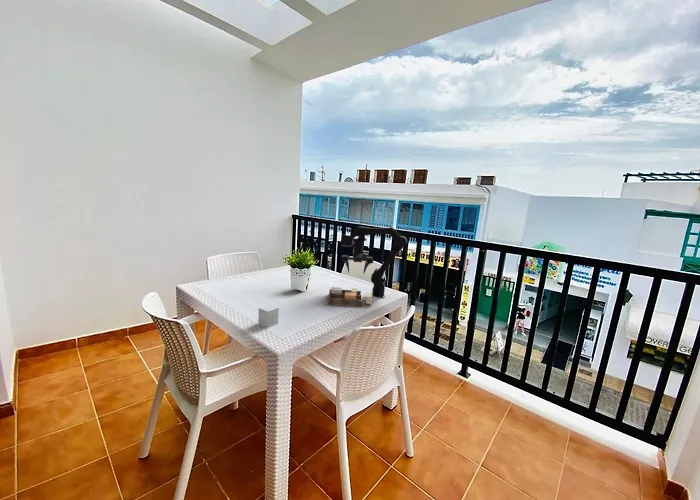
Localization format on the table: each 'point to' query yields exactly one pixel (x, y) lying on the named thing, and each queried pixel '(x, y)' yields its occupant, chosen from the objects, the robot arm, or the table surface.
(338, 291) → the cream white block dumbbell
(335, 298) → the lane rack
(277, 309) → the product box
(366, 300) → the cream orange dumbbell block
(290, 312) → the table surface
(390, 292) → the table surface
